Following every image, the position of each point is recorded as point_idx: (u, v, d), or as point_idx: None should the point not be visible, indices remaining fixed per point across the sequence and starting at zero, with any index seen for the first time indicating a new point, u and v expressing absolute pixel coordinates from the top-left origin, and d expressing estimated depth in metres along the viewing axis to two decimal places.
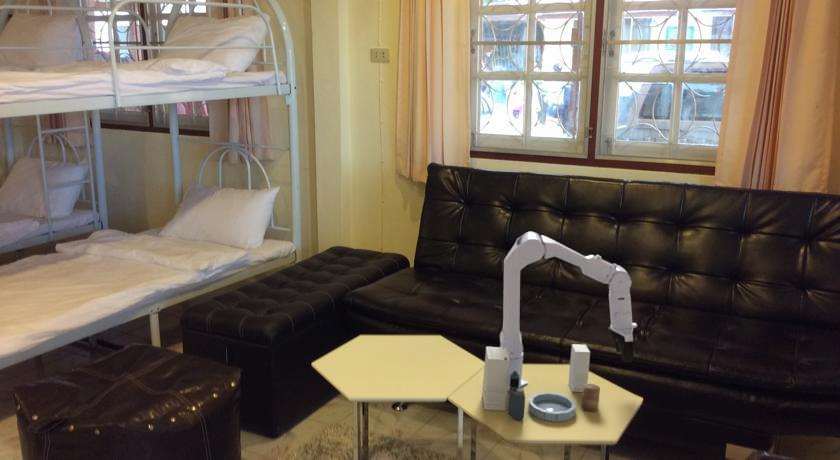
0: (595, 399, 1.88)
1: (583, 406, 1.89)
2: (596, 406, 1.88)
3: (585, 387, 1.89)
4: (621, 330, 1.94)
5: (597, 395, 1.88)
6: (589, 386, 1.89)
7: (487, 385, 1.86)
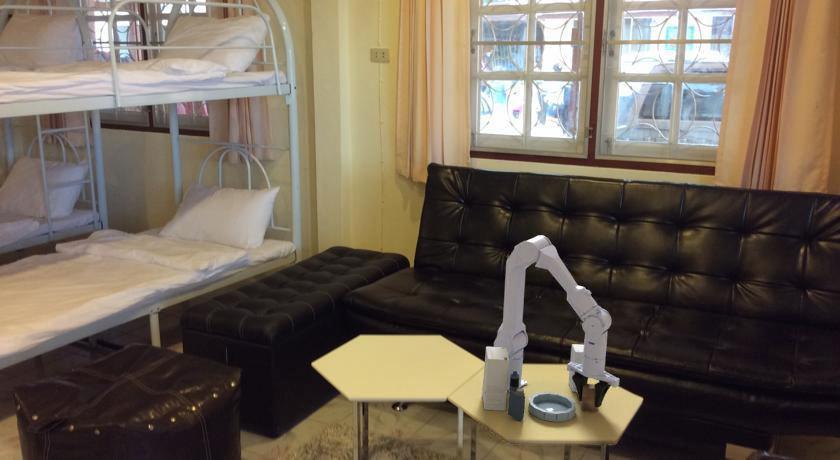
0: None
1: (583, 406, 1.89)
2: None
3: (585, 386, 1.89)
4: (601, 376, 1.85)
5: None
6: (589, 386, 1.89)
7: (487, 385, 1.86)
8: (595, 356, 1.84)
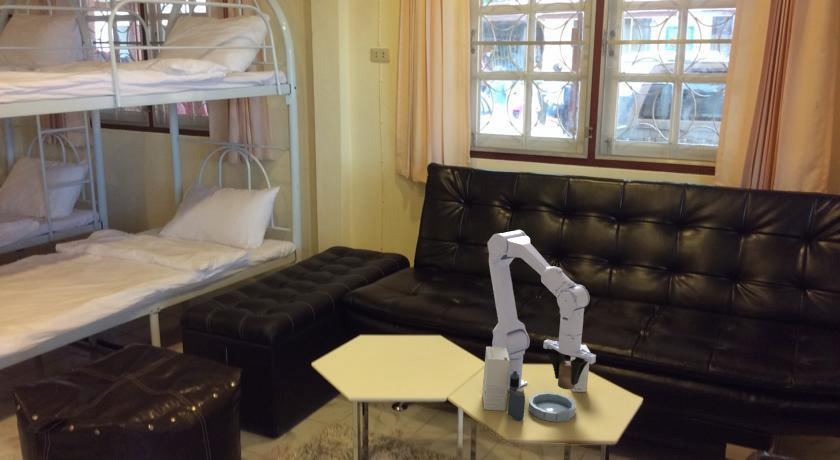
0: None
1: (559, 383, 1.86)
2: None
3: (562, 364, 1.86)
4: (577, 353, 1.82)
5: None
6: (566, 364, 1.86)
7: (487, 385, 1.86)
8: (568, 332, 1.81)
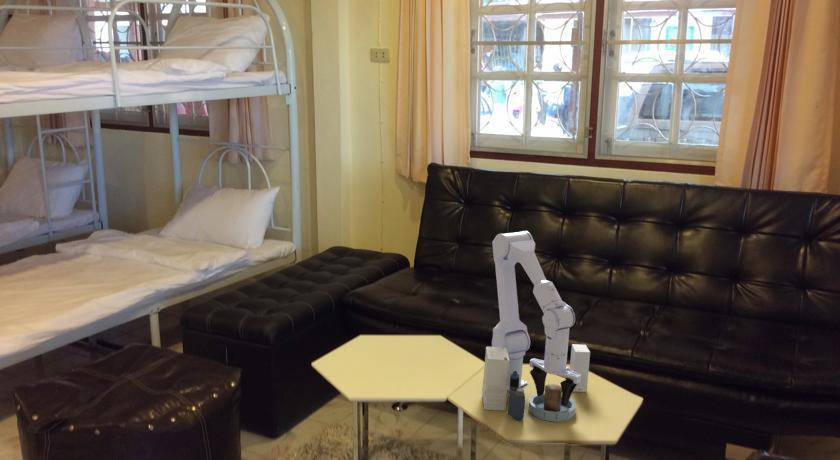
0: (557, 400, 1.85)
1: (545, 407, 1.87)
2: (558, 407, 1.86)
3: (547, 387, 1.87)
4: (562, 372, 1.83)
5: (559, 396, 1.85)
6: (551, 387, 1.87)
7: (487, 385, 1.86)
8: (552, 351, 1.82)
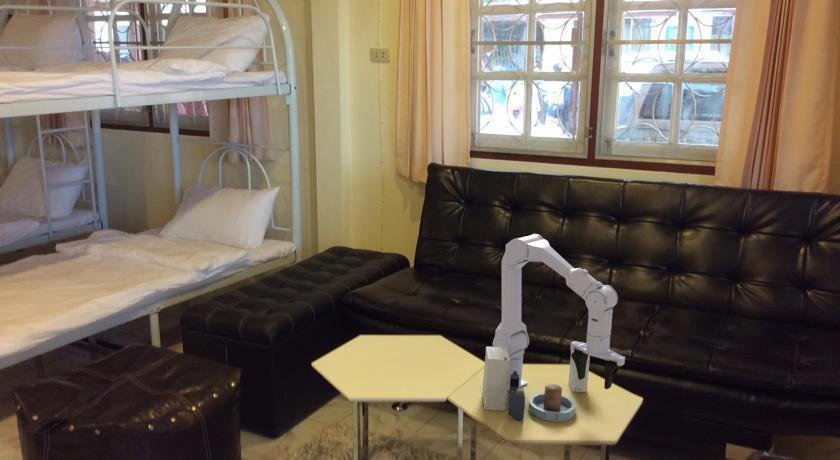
0: (557, 400, 1.85)
1: (545, 407, 1.87)
2: (558, 407, 1.86)
3: (547, 387, 1.87)
4: (605, 355, 1.79)
5: (559, 396, 1.85)
6: (551, 387, 1.87)
7: (487, 385, 1.86)
8: (598, 333, 1.78)
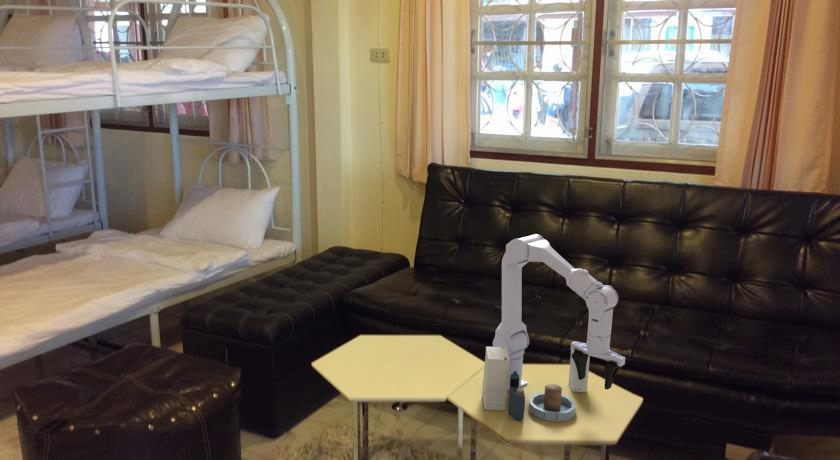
0: (557, 400, 1.85)
1: (545, 407, 1.87)
2: (558, 407, 1.86)
3: (547, 387, 1.87)
4: (606, 355, 1.79)
5: (559, 396, 1.85)
6: (551, 387, 1.87)
7: (487, 385, 1.86)
8: (598, 334, 1.78)
